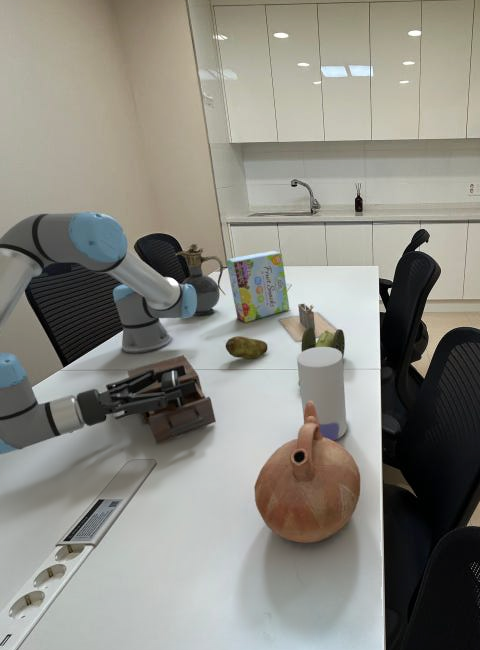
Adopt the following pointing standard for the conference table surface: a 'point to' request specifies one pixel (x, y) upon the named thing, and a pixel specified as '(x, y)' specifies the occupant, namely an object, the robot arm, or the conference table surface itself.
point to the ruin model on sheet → (306, 323)
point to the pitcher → (202, 280)
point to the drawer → (181, 416)
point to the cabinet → (165, 365)
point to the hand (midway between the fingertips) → (189, 377)
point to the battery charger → (170, 381)
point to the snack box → (258, 285)
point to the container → (324, 388)
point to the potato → (246, 347)
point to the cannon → (323, 340)
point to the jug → (308, 485)
